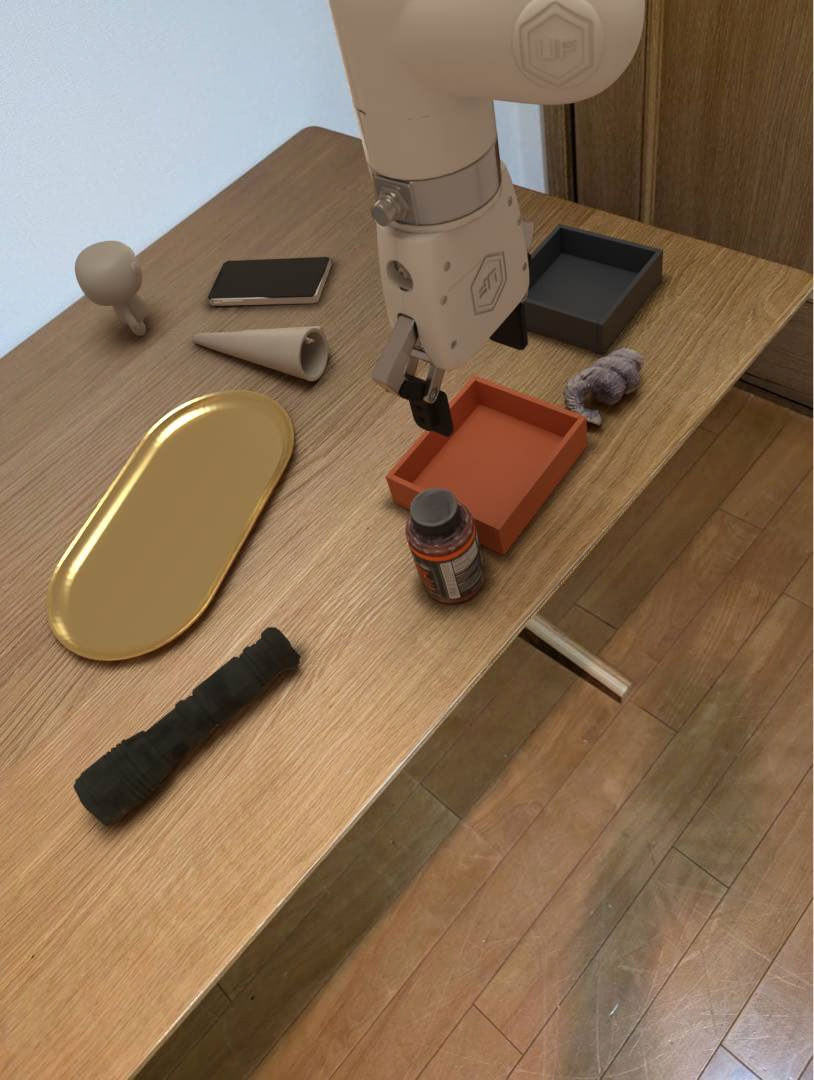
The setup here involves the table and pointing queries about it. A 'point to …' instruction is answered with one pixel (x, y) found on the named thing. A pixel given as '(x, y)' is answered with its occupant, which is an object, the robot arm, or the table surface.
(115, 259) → the figurine
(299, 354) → the long tapered cone
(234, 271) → the smartphone
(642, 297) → the slate bin
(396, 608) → the table surface
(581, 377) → the grey curved ribbed piece
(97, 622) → the serving platter
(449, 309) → the robot arm
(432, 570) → the supplement bottle
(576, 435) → the terracotta bin
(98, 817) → the flashlight
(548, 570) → the table surface
